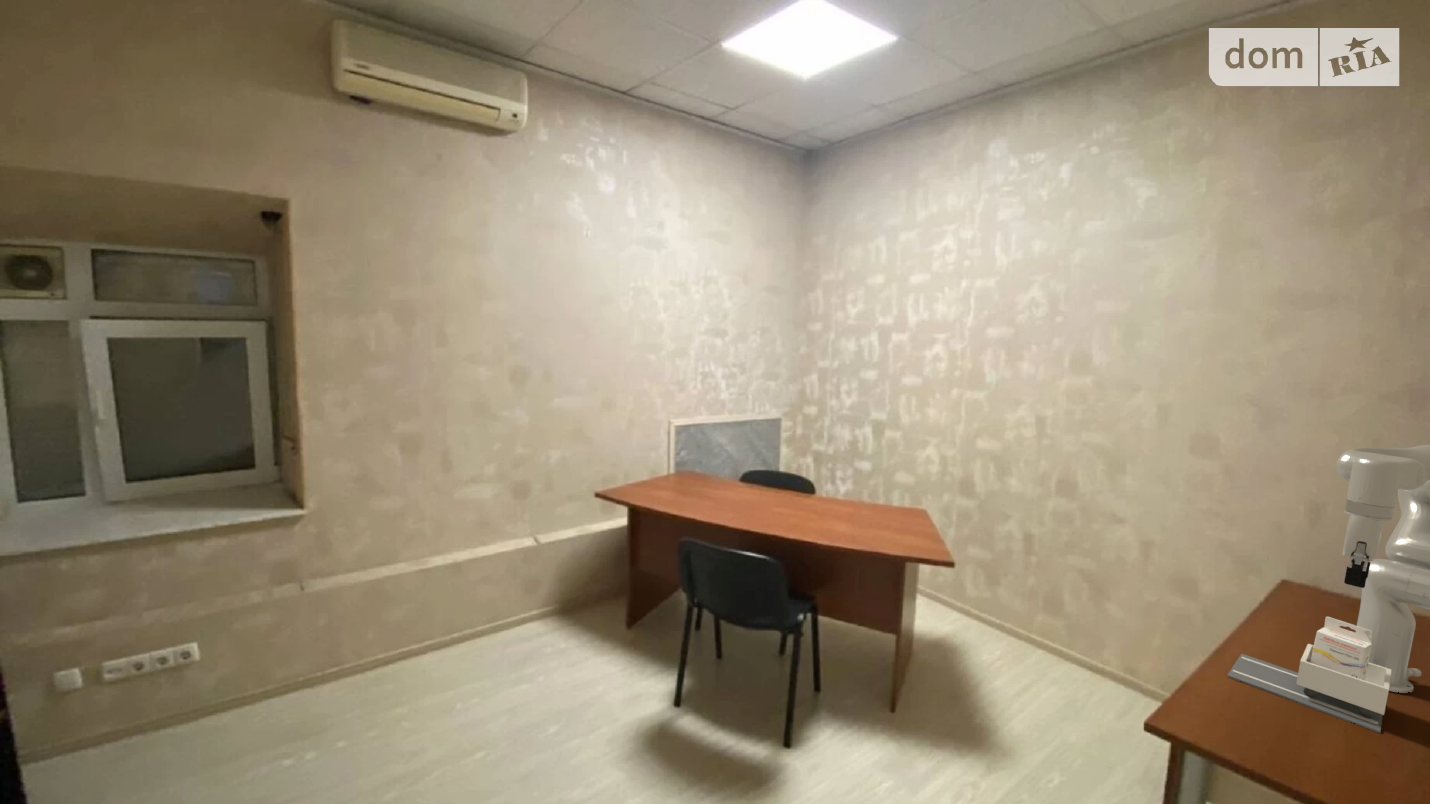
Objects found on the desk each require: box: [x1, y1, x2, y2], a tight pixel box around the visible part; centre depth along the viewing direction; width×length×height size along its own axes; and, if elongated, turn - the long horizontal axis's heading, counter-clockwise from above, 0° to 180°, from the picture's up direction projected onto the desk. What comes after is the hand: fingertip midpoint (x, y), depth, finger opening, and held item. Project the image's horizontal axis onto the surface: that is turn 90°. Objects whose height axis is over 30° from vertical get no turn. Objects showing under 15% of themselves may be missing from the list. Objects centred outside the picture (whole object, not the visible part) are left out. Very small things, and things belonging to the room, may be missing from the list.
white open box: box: [1296, 643, 1392, 718], centre depth 139 cm, size 14×14×8 cm
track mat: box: [1226, 653, 1384, 734], centre depth 145 cm, size 18×26×1 cm
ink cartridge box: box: [1311, 616, 1373, 681], centre depth 139 cm, size 9×5×15 cm, turn 29°
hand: (1355, 580), depth 137 cm, fingers open, 9 cm apart
